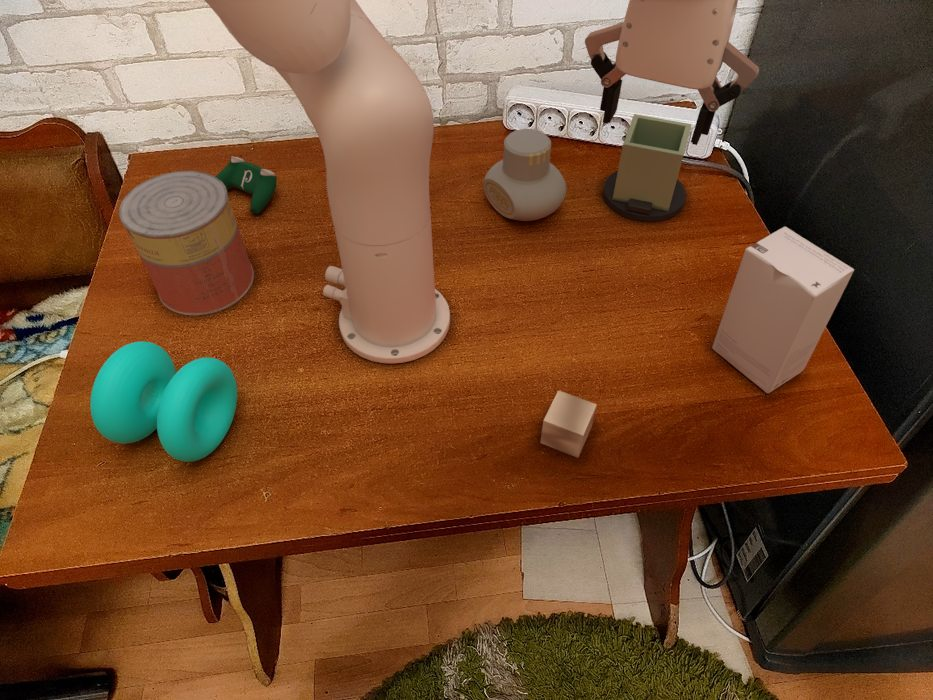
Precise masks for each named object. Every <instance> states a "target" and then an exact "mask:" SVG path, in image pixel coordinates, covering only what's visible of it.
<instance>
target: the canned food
mask: <svg viewBox="0 0 933 700" xmlns="http://www.w3.org/2000/svg"><path fill="white" fill-rule="evenodd" d="M215 176H216V175H212V174H210V173H207V172H203V171H198V170H197V171H196V170H177V171H171V172H167V173H163V174H159V175H157V176H153V177H151V178H149V179H146V180H144V181H143V182H141V183H139V184H138V185H136V186H135V187H134V188H132V189H130V191H129V192H128V193H127V194H126V195H125V197H124V198H123V199H122V201H121V202H120V205H119V210H118V216H119V219H120V222H121V223H122V225H123V226H124V227H125V229H126V231H127V233H128V236H129V237H130V240H131V241H132V244H133V246H134V247H135V250H136V251H137V254H138V256H139V258H140V261H141V263H142V264H143V266H144V268H145V270H146V272H147V274H148V276H149V278H150V280H151V282H152V285H153V286H154V288H155V290H156V292H157V296H158V298H159V300H160V302H161V303H162V305H163V306H164V307H165V308H167V309H168V310H170V311H172V312H173V313H176V314H180V315H184V316H193V317H195V316H206V315H212V314H215V313H218V312H222V311H224V310H226V309H228V308H230V307H232V306H233V305H235V304H237V303H238V302H239V301H240V300H242V299H243V297H245V296H246V294H248V292H249V290H250V289H251V287H252V286H253V283H254V278H255V272H254V269H253V265H252V264H251V261H250V258H249V256H248V252H247V250H246V246H245V242H244V240H243V237H242V234H241V231H240V229H239V226H238V225H239V224H238V223H237V220H236V216H235V213H234V210H233V207H232V205H231V201H230V198H229V194H228V193H229V192H228V190H227V189H226V187H225V185H224V184H223V182H222V181H221V180H219V179H218V178H216V177H215Z"/></svg>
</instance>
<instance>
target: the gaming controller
mask: <svg viewBox="0 0 933 700" xmlns="http://www.w3.org/2000/svg"><path fill="white" fill-rule="evenodd" d="M230 158H231V159H229V161H228V163H227V165H226V166H224V168H222V170H220V171H219V172H218V173H217V174H216V175H214V176H215V177H216V178H218V179H219V180H221V181H222V182H223V184H224V185H225V187H226V189H227V191H229V190H231V189H232V188H236V189H238V190H240V191H243V192H246V193H247V194H249V195H251V200H250V210H249V211H250V212H251V213H252V214H255V215H259V214H260V213H261V212H262V211H263V210H264V209H265V208H266V207H267V205H268V204H269V203H270V201H271V199H272V198H273V196H274V194H275V192H276V188H277V186H278V185H277V180H278V177H277V175H276V173H274V171H272V170H269V169H267V168H264V167H261V166H260V165H256V164H255V163H252V162H249V161H246V160H245V159H243V158H241V157H239V156H233V155H232V156H231V157H230Z"/></svg>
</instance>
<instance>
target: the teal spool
mask: <svg viewBox="0 0 933 700" xmlns="http://www.w3.org/2000/svg"><path fill="white" fill-rule="evenodd" d="M89 402H90V404H89V405H90V415H91V419H92V422H93V424H94V426H95V429H96V430H97V431H98V432H99V434H100V435H101V436H102V437H104V438H105V439H106V440H108V441H110V442H113V443H116V444H125V445H126V444H132V443H137V442H140V441H142V440H144V439H145V438H147V437H149V436H150V435H151V434H153V433H154V432H155V431H156V430H157V436H158V440H159V442H160V444H161V446H162V448H163V450H164V451H165V452H166V453H167V454H168V455H169V456H170V457H172V458H173V459H175V460H177V461H180V462H185V463H189V462H190V463H191V462H197V461H201V460H202V459H204V458H206V457H208V456H209V455H211V454H212V453H213V452H214V451H215V450H216V449H217V448H218V447H219V446H220V444H222V442H223V440H224V439H225V437H226V436H227V434H228V432H229V430H230V428H231V425H232V423H233V421H234V417H235V414H236V409H237V404H238V403H237V402H238V385H237V381H236V377H235V375H234V373H233V371H232V369H231V368H230V367H229V366H228V365H227V364H226V363H225V362H224V361H222V360H221V359H219V358H215V357H208V356H206V357H199V358H196V359H193V360H191V361H188V362H187V363H186V364H184V365H183V366H182V367H181V368H179V370H178V371H176V367H175V364H174V361H173V359H172V357H171V356H170V355H169V353H168V352H167V351H166V350H165V349H164V348H163V347H162V346H160V345H158V344H156V343H154V342H150V341H144V340H143V341H139V340H138V341H134V342H133V341H132V342H130V343H128V344H125V345H123V346H121V347H120V348H118V349H117V350H115V351H114V352H113V353H112V354H111V355H110V356H109V357H108V358H107V359H106V360H105V361H104V363H103V364H102V366H101V367H100V368H99V371H98V373H97V374H96V377H95V379H94V382H93V384H92V387H91V393H90V401H89Z"/></svg>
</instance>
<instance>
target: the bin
mask: <svg viewBox="0 0 933 700" xmlns="http://www.w3.org/2000/svg"><path fill="white" fill-rule="evenodd" d="M691 128H692V123H689V122H687V123H686V122H682V121H677V120H670V119H666V118H665V119H664V118H660V117H654V116H649V115H642V114H636V113H633V116H632V119H631V122H630V124H629V127H628V129H627V132H626V136H625V138H624V141H623V144H622V148H621V152H620V158H619V162H618V163H619V164H618V169H617V171H618V173H617V178H616V184H615V189H614V194H613V199H612V200H615V201H620V202H625V203H628V206H627V210H630V211H635V212H640V213H645V214H650V211H651V208H654V209H659V210H664V211H669V207H670V203H671V200H672V196H673V192H674V189H675V185H676V181H677V180H678V177H679V174H680V171H681V166H682V162H683V159H684V157H685V156H684V155H685V153H686V152H685V151H686V147H687V144H688V140H689V136H690V133H691Z"/></svg>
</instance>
